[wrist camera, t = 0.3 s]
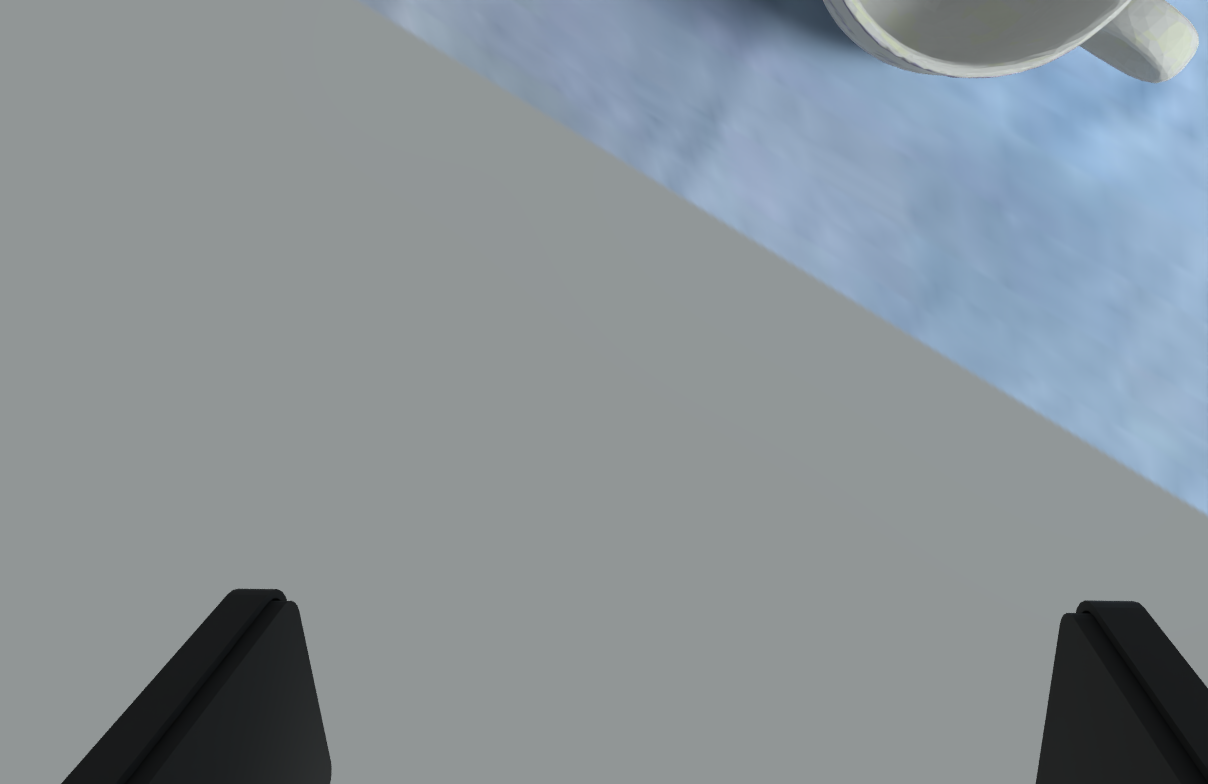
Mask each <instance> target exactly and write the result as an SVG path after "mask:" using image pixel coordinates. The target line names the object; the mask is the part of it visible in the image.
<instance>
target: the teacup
mask: <svg viewBox="0 0 1208 784" xmlns="http://www.w3.org/2000/svg"><path fill="white" fill-rule="evenodd" d="M823 2H824V4H825V6H826V8H827V10H828V11H829V13H830V14H831V16H832V17H833V19H834V20H835V22H836V24H837V25H838V26H839V27H840V28H841V30H842V31H843V32H844V33H845V34H846V35H847V36H848V37H849V38H850V39H851V40H852V41H853V42H854V43H855V44H856V45H858V46H859V47H860V48H862V49H863V50H864V51H865V52H867V53H869V54H870V55H872V56H873V57H875V58H877V59H879V60H881V61H882V62H884V63H887V64H889V65H892V66H895V67H897V68H900V69H903V70H907V71H911V72H916V73H921V74H928V75H943V76H948V77H955V78H990V77H999V76H1005V75H1011V74H1015V73H1019V72H1023V71H1026V70H1030V69H1033V68H1036V67H1039V66H1042V65H1044V64H1047V63H1049V62H1051V61H1053V60H1055V59H1057V58H1059V57H1061V56H1063V55H1064V54H1066V53H1068V52H1070V51H1071V50H1073V49H1075V48H1076V47H1078V46H1081V47H1082V48H1084V49H1085V50H1087V51H1088V52H1090V53H1091V54H1093V55H1094V56H1096V57H1098V58H1099V59H1101V60H1103V61H1104V62H1106V63H1108V64H1109V65H1111V66H1113V67H1114V68H1116V69H1118V70H1120V71H1121V72H1123V73H1125V74H1127V75H1129V76H1131V77H1134V78H1136V79H1139V80H1142V81H1146V82H1151V83H1159V82H1163V81H1167V80H1169V79H1171V78H1172V77H1174V76H1175V75H1177V74H1178V73H1179V72H1180V71H1181V70H1183V68H1184V67H1185V66H1186V65H1187V64H1188V62H1189V61H1190V60H1191V58H1192V57H1193V56H1194V54H1195V52H1196V50H1197V47H1198V45H1199V39H1198V33H1197V31H1196V29H1195V28H1194V26H1193V25H1192V23H1191V22H1190V21H1189V20H1188V19H1187V18H1186V17H1185V16H1184V15H1183V14H1181V13H1180V12H1179V11H1178V10H1177V9H1176V8H1174V7H1173V6H1172V5H1170V4H1169V3H1167V2H1166V1H1165V0H823Z"/></svg>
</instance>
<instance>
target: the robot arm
mask: <svg viewBox="0 0 1208 784" xmlns="http://www.w3.org/2000/svg"><path fill="white" fill-rule="evenodd" d="M330 781H331V760H330V756H329V751H328V746H327V742H326V736H325V732H324V727H323V723H322V717H321V713H320V708H319V703H318V698H317V693H316V689H315V685H314V679H313V674H312V670H311V665H310V660H309V655H308V651H307V646H306V641H305V636H304V632H303V627H302V623H301V617H300V613H299V609H298V607H297V605H296V603H295V602H292V601H287V599H286V597H285V595H284V594H283V592H282V591H280V590H277V589H236V590H233V591H231V592H230V593H229V594H228V595H227V596H226V597H225V598H224V599H223V600H222V601H221V603H220V604H219V605H218V606H217V607H216V608H215V609H214V611H213V612H212V613H211V614H210V615H209V616H208V617H207V619H206V620H205V621H204V622H203V623H202V624H201V625H200V626H199V628H198V629H197V630H196V631H195V632H194V633H193V634H192V636H191V637H190V638H189V639H188V640H187V641H186V642H185V644H184V645H183V646H182V647H181V648H180V649H179V650H178V651H177V653H176V654H175V655H174V656H173V657H172V658H171V659H170V661H169V662H168V663H167V664H166V665H165V666H164V667H163V669H162V670H161V671H160V672H159V673H158V674H157V675H156V676H155V678H154V679H153V680H152V681H151V682H150V684H148V686H147V687H146V688H145V689H144V690H143V691H142V692H141V694H140V695H139V696H138V697H137V698H136V699H135V700H134V702H133V703H132V704H131V705H130V706H129V707H128V708H127V710H126V711H125V712H124V713H123V714H122V716H120V717H119V719H118V720H117V721H116V722H115V723H114V724H113V726H112V727H111V728H110V729H109V730H108V731H107V732H106V733H105V735H104V736H103V737H102V738H101V739H100V740H99V741H98V743H97V744H96V745H95V746H94V747H93V748H92V749H91V750H90V752H89V753H88V754H87V755H86V756H85V757H84V759H83V760H82V761H81V762H80V763H79V764H78V765H77V767H76V768H75V769H74V770H73V771H72V772H71V773H70V774H69V775H68V777H67V778H66V779H65V780H64V781H63V782H62V783H61V784H330ZM1036 784H1208V688H1207V687H1206V686H1205V685H1204V683H1203V682H1202V680H1201V679H1200V678H1199V677H1198V675H1197V674H1196V673H1195V672H1194V670H1193V669H1192V668H1191V667H1190V665H1189V664H1188V663H1187V661H1186V660H1185V659H1184V658H1183V656H1182V655H1181V654H1180V653H1179V651H1178V650H1177V649H1176V647H1175V646H1174V645H1173V644H1172V642H1171V641H1170V640H1169V639H1168V637H1167V636H1166V635H1165V633H1164V632H1163V631H1162V630H1161V629H1160V627H1159V626H1158V625H1157V623H1156V622H1155V621H1154V619H1153V618H1152V617H1151V616H1150V614H1149V613H1148V612H1147V611H1146V609H1145V608H1144V607H1143V606H1142V605H1141V604H1140V603H1138V602H1134V601H1083V602H1081V603H1080V604H1079V606H1078V608H1077V610H1076V613H1066V614H1064V615H1063V617H1062V619H1061V623H1060V628H1059V635H1058V641H1057V648H1056V654H1055V661H1054V667H1053V674H1052V680H1051V687H1050V694H1049V700H1048V707H1047V714H1046V720H1045V726H1044V733H1043V740H1042V746H1041V753H1040V760H1039V766H1038V773H1037V779H1036Z"/></svg>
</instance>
